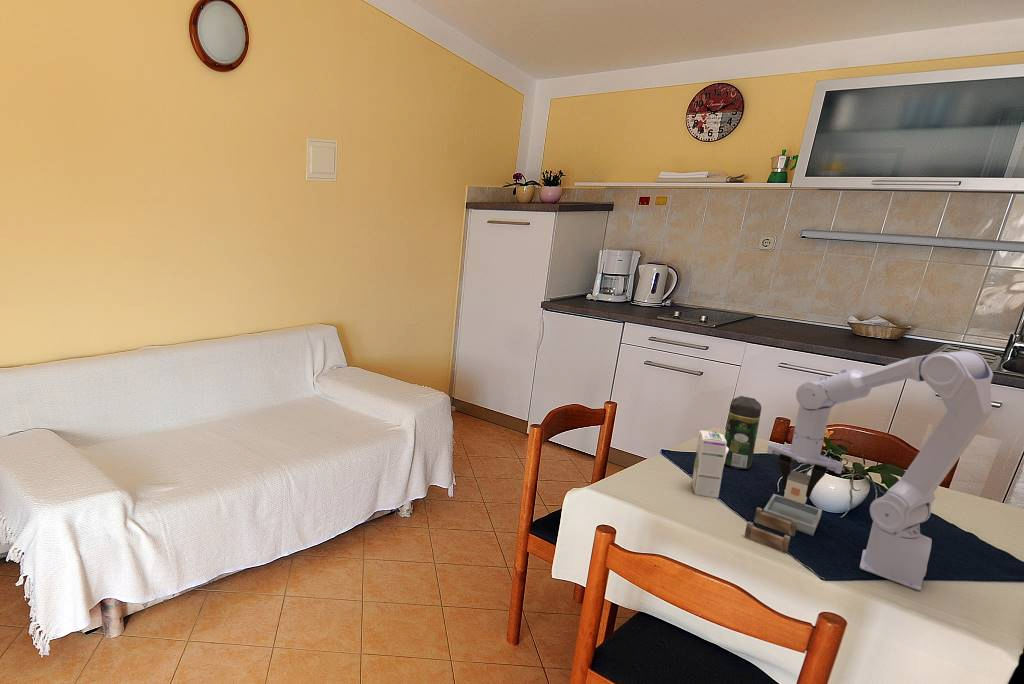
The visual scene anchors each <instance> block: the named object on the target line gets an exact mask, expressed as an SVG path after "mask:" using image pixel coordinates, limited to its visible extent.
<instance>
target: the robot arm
mask: <svg viewBox="0 0 1024 684" xmlns="http://www.w3.org/2000/svg"><path fill="white" fill-rule="evenodd" d="M993 376H994V373H993V371H992V369H991V367H990V365H989V364H988V362H987V361H986V359H985V357H983V356H982V355H981V354H979V353H977V352H976V351H972V350H969V349H968V350H966V349H962V350H956V351H949V352H945V351H944V352H943V351H942V352H941V351H940V352H934V353H932V354H926V355H918V356H913V357H908V358H905V359H901V360H899V361H896V362H893V363H890V364H887V365H884V366H881V367H878V368H876V369H873V370H869V371H866V372H863V371H861V370H859V369H857V368H856V369H851V368H847V367H846V368H844V369H841V370H840V373H838V374H834V375H832V376H828V375H827V376H826V375H825V376H821V377H819V381H806V382H804V383H802V384H801V385H800V386H799V387H797V390H796V393H795V394H796V395H795V397H796V401H797V402H798V404H799V406H798V410H797V417H796V421H795V426H794V430H793V431H794V432H793V436H792V441H791V446H790V445H783V444H777V443H773V442H770V443H769V444H768V445H767V451H766V453H767V454H771V455H773V454H774V455H778V459H777V463H778V466H779V468H780V472H781V476H782V490H784V491H785V489H786V484H787V478H788V475H789V473H790V472H791V470H792V468H793V467H792V466H793V463H794V461H797V462H800V463H804V464H809V465H811V466H813V467H812V469H811V474H810V476H811V478H810V483H809V487H808V490H807V494H806V497H807V499H810V497H811V496H812V492H813V490H814V488H815V487H816V485H817V483H819V482H820V481H821V479H823V477H824V476H825V474H826V473H827V471H828V470H829V471H831V472H832V471H833V472H834V473H836V474H839V475H841V474H842V471H843V466H844V463H843V462H841V461H838V460H835V459H832V458H830V457H828V456H825V455H822V454H821V452H822V447H823V444H824V440H825V434H826V429H827V426H828V420H829V415H831V414H830V412H831V409H832V408H833V407H835V406H836V405H839V404H844V403H847V402H850V401H851V402H852V401H854V400H858V399H861V398H866V397H867V396H869V394H870V393H871V390H872V389H873V388H876V387H881V386H885V385H889V384H892V383H898V382H901V381H905V380H909V379H911V380H913V381H916V382H919V383H920V382H925V383H926V384H927V385H928V386H929V388H931V390H933V391H934V392H935V394H937V395H938V397H940V398H941V400H942V401H943V404H944V405H945V407H946V410H947V411H946V412H945V414H944V416H943V417H942V419H941V420H940V422H939V423H938V424H937V426H936V427H935V429H934V430H933V431H932V433H931V434H930V436H929V437H928V439H927V440H926V442H925V443H924V444H923V446H922V448H920V450H919V451H918V453H917V455H916V456H915V458H914V459H913V461H912V462H911V464H910V465H909V467H908V468H907V469H906V470H905V472H904V474H903V476H902V477H900V479H899V480H898V481H896V482H895V484H893V485H892V486H891V487H890V488H888V489H887V490H886V492H885V494H883V496H882V495H881V497H878V498H875V499H874V500H872V502H871V504H870V506H869V514H870V518H871V519H872V524H871V529H870V533H869V538H868V541H867V545H866V549H862V554H861V559H860V564H859V569H860V570H862V571H866V572H868V573H871V574H874V575H876V576H879V577H882V578H885V579H886V580H890V581H892V582H894V583H895V582H896V583H898V584H900V585H903V586H905V587H908V588H911V589H913V590H917V591H921V590H922V586H923V581H924V577H926V575H927V570H928V562H929V558H930V554H931V549H932V538H931V537H928V536H926V535H923V534H922V533H921V528H920V525H921V524H922V523H924V522H926V521H928V520H929V518H930V517H931V514H932V504H933V502H934V501H935V500H936V496H935V492H936V491H937V489H938V487H940V485H941V483H942V482H943V481H944V479H945V478H946V477H947V475H948V474H950V473H949V472H950V471H951V470H952V468H953V467H954V466H955V465H956V463H957V462H958V461H959V459H960V458H961V456H962V455H963V453H964V452H965V450H966V449H967V448H968V447H969V446H970V444H971V443H972V441H973V440H974V438H975V437H976V436H977V434H978V433H979V432H980V430H981V429H982V427H984V425H985V424H986V422H987V420H988V419H989V418H990V417H991V414H992V392H991V391H992V390H991V389H992V388H991V386H992V385H991V383H992V379H993V378H994V377H993Z"/></svg>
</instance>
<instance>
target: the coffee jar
mask: <svg viewBox="0 0 1024 684" xmlns="http://www.w3.org/2000/svg"><path fill="white" fill-rule="evenodd" d="M729 406H730V407H729V410H728V416H727V420H726V427H725V433H724V437H725V439H726V441H727V445H726V446H727V447H728V448H729V451H728V453H727V455H726V459H725V463H724V465H726V466H729V467H731V468H733V467H734V468H733V469H738V470H739V469H740V470H748V469H750V468H751V466H752V464H753V458H754V454H755V446H756V442H757V441H756V440H757V435H758V431H759V430H758V429H759V425H760V419H761V418H760V417H761V412H762V405H761V403H760V402H759V401H758V400H756V398H754V397H749V396H744V395H740V396H738V397H734V398H733V399H731V402H730V405H729Z"/></svg>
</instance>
